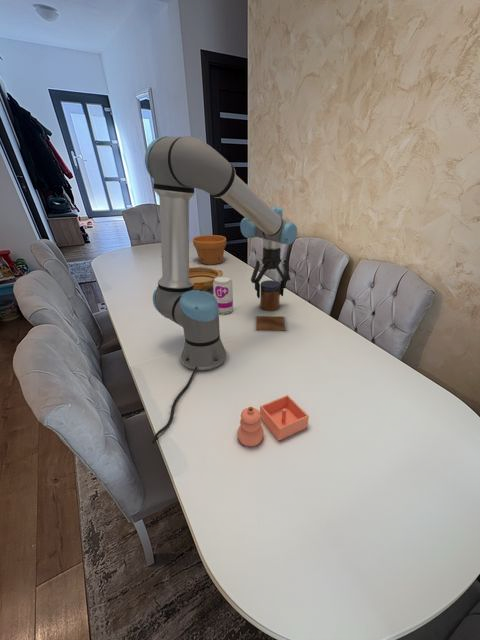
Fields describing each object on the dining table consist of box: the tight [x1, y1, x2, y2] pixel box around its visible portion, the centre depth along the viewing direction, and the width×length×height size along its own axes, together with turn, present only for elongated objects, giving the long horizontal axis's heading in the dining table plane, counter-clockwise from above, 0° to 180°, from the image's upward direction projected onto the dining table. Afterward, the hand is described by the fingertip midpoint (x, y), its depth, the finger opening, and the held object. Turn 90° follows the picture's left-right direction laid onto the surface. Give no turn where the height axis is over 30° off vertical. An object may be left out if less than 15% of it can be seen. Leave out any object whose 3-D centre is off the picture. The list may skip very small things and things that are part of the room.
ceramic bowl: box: [189, 266, 224, 292], centre depth 160 cm, size 30×24×8 cm
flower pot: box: [192, 234, 227, 265], centre depth 198 cm, size 21×21×15 cm
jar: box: [259, 288, 281, 312], centre depth 142 cm, size 9×9×10 cm
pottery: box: [237, 394, 310, 448], centre depth 78 cm, size 18×10×10 cm, turn 121°
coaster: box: [256, 315, 287, 332], centre depth 130 cm, size 12×12×1 cm
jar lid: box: [260, 279, 281, 291], centre depth 139 cm, size 9×9×2 cm
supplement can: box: [212, 275, 234, 315], centre depth 136 cm, size 8×8×15 cm
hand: (270, 295), depth 142 cm, fingers open, 11 cm apart
